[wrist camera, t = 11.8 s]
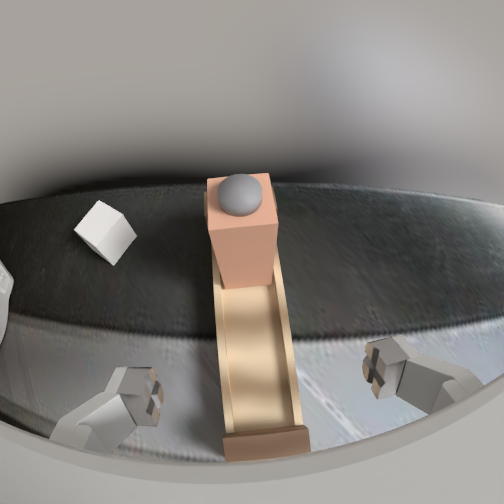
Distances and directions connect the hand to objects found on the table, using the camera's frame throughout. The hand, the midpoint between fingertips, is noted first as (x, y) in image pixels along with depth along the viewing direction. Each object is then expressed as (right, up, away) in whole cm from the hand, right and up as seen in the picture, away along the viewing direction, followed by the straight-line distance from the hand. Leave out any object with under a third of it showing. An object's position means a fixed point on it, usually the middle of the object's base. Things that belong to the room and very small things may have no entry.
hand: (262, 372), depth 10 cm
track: (0, -4, +18) cm, 19 cm away
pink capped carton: (-1, +3, +19) cm, 20 cm away
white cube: (-19, +6, +24) cm, 31 cm away
